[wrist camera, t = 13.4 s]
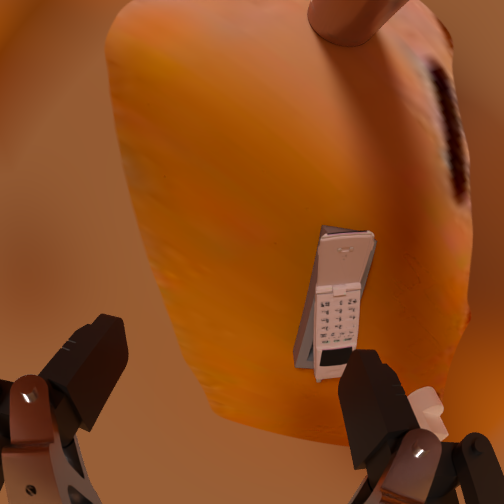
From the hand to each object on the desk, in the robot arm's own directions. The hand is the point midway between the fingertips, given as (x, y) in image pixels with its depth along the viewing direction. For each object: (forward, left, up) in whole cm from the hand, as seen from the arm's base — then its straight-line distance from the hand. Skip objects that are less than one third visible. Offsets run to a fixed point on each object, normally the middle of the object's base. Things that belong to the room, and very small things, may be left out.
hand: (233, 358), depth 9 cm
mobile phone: (+12, +12, -24) cm, 29 cm away
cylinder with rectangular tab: (+37, +42, -28) cm, 63 cm away
